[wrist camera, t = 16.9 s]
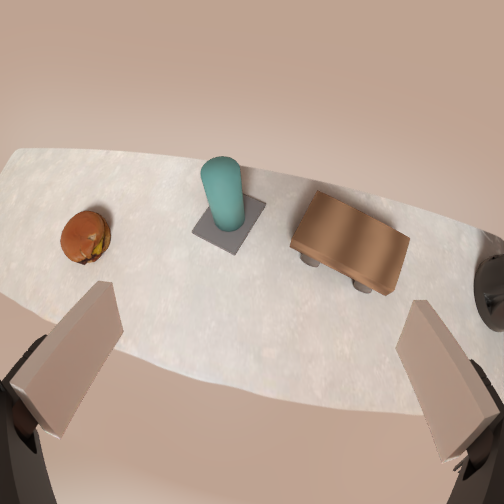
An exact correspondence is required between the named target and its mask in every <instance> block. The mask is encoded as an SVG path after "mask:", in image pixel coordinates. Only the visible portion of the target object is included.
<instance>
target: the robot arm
mask: <svg viewBox="0 0 504 504" xmlns="http://www.w3.org/2000/svg"><path fill="white" fill-rule="evenodd" d="M474 293H475V301H476V305H477V308H478V311H479V314H480V316H481V318H482V320H483V321H484V323H485V324H486V325H487V326H488V327H489V328H490V329H491V330H493V331H496V332H503V331H504V254H502V255H494V256H492V257H490V258H488V259H486V260H485V261H483V262H482V263H481V264H480V266H479V268H478V270H477V272H476V276H475V282H474ZM123 332H124V331H123V327H122V323H121V320H120V315H119V311H118V307H117V303H116V298H115V294H114V289H113V284H112V282H104V281H98V282H97V283H96V284H95V285H94V286H93V287H92V288H91V289H90V290H89V291H88V292H87V293H86V294H85V295H84V296H83V297H82V298H81V299H80V300H79V301H78V302H77V303H76V304H75V306H74V307H73V308H72V309H71V310H70V311H69V312H68V313H67V314H66V315H65V316H64V317H63V319H62V320H61V321H60V322H59V323H58V324H57V325H56V326H55V328H54V329H53V330H52V331H51V332H50V333H49V334H48V335H44V336H42V337H41V338H39V339H37V340H36V341H35V342H34V343H33V344H32V345H31V346H30V348H29V349H28V351H26V352H25V353H24V355H23V357H22V358H20V359H19V361H18V362H17V363H16V364H15V365H14V367H13V368H12V369H11V371H10V372H9V373H8V374H7V375H6V377H5V378H4V379H3V380H2V382H1V380H0V504H57V503H56V499H55V496H54V494H53V490H52V487H51V484H50V480H49V477H48V473H47V470H46V466H45V462H44V458H43V453H42V449H41V444H40V440H39V435H38V432H37V430H36V426H37V425H38V424H39V425H40V426H41V427H42V429H43V430H44V431H45V432H46V433H48V434H50V435H52V436H54V437H56V438H58V439H61V438H62V436H63V434H64V432H65V430H66V428H67V427H68V425H69V423H70V421H71V419H72V417H73V416H74V414H75V412H76V410H77V408H78V407H79V405H80V403H81V401H82V400H83V398H84V396H85V394H86V393H87V391H88V389H89V388H90V386H91V384H92V382H93V381H94V379H95V377H96V376H97V374H98V372H99V371H100V369H101V367H102V366H103V364H104V362H105V361H106V359H107V358H108V356H109V354H110V353H111V351H112V350H113V348H114V346H115V345H116V343H117V342H118V340H119V338H120V337H121V335H122V334H123ZM396 351H397V353H398V355H399V357H400V359H401V361H402V364H403V366H404V368H405V370H406V373H407V375H408V377H409V379H410V382H411V384H412V386H413V389H414V391H415V394H416V396H417V398H418V401H419V403H420V406H421V408H422V411H423V413H424V416H425V418H426V421H427V424H428V426H429V429H430V432H431V434H432V437H433V440H434V443H435V445H436V448H437V451H438V454H439V457H440V460H441V463H444V462H447V461H450V460H453V459H456V458H458V457H459V456H460V455H461V454H462V453H463V452H464V451H465V450H467V452H468V455H467V456H466V457H465V458H464V459H463V460H462V461H461V462H460V463H459V464H458V465H456V466H455V468H454V469H453V471H456V470H457V469H458V468H459V467H460V466H462V467H461V470H460V471H459V472H458V473H459V476H458V478H457V481H456V483H455V486H454V488H453V490H452V493H451V495H450V498H449V500H448V502H447V504H504V404H503V403H502V401H501V399H500V397H499V396H498V394H497V392H496V390H495V389H494V387H493V385H492V386H491V382H490V381H489V379H488V378H487V376H486V374H485V373H484V371H483V369H482V368H481V367H480V366H479V365H478V364H477V363H476V362H475V361H474V360H472V359H471V360H469V359H468V357H467V356H466V354H465V353H464V351H463V350H462V348H461V347H460V345H459V344H458V342H457V341H456V339H455V338H454V337H453V335H452V334H451V332H450V331H449V329H448V328H447V327H446V325H445V324H444V322H443V321H442V320H441V318H440V317H439V316H438V314H437V313H436V312H435V310H434V309H433V308H432V306H431V305H430V304H429V302H428V301H427V300H413V303H412V306H411V309H410V311H409V314H408V317H407V320H406V322H405V325H404V328H403V330H402V333H401V336H400V338H399V341H398V343H397V346H396Z"/></svg>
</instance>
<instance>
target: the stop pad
mask: <svg viewBox="0 0 504 504" xmlns="http://www.w3.org/2000/svg"><path fill="white" fill-rule="evenodd" d="M243 203H244V213H245V221H244V223H243V225H242V226H241V227H240V228H239V229H237V230H235V231H232V232H225V231H222V230H220V229H219V228H217V226H216V225H215V223H214V220H213V216H212V213H211V209H210V206H209V207H208V209H207V210H206V211H205V213H204V214H203V216H202V217H201V219H200V220H199V221H198V223H197V224H196V226H195V227H194V229H193V230H192V233H193V234H195V235H197V236H198V237H200V238H202V239H204V240H206V241H208V242H210V243H212V244H214V245H216V246H218V247H220V248H221V249H223V250H225V251H227V252H229V253H231V254H233V255H236V253H237V251H238V250H239V248H240V246H241V245H242V243H243V242H244V240H245V238H246V237H247V235H248V233H249V232H250V230H251V229H252V227H253V225H254V224H255V222H256V220H257V219H258V217H259V216H260V214H261V212H262V211H263V209H264V208H265V206H266V204H264V203H262V202H260V201H258V200H256V199H254V198H251V197H249V196H247V195H245V194H243Z"/></svg>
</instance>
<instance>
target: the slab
mask: <svg viewBox="0 0 504 504" xmlns="http://www.w3.org/2000/svg"><path fill="white" fill-rule="evenodd" d="M409 241H410V238H409V237H407V236H406V235H404V234H402V233H400V232H398V231H397V230H395V229H393V228H391V227H389V226H387V225H386V224H384V223H382V222H380V221H378V220H376V219H374V218H372V217H371V216H369V215H367V214H365V213H363V212H361V211H359V210H357V209H355V208H353V207H351V206H349V205H347V204H345V203H343V202H341V201H339V200H337V199H335V198H333V197H331V196H329V195H327V194H324V193H322V192H320V191H318V190H317V192H316V194H315V196H314V198H313V200H312V201H311V203H310V205H309V207H308V209H307V211H306V213H305V215H304V217H303V218H302V220H301V222H300V224H299V226H298V228H297V230H296V232H295V233H294V235H293V237H292V240H291V243H290V247H291V248H293V249H295V250H297V251H299V252H301V253H302V255H301V257H300V258H301V260H302V261H303V262H304V263H306V264H307V265H310V266H312V267H318V266H319V264H320V262H321V263H323V264H325V265H326V266H328V267H330V268H332V269H334V270H336V271H338V272H340V273H342V274H344V275H346V276H348V277H350V278H352V279H354V280H355V282H354V284H353V286H354V288H356V289H357V290H359V291H361V292H363V293H371V291H372V289H373V290H375V291H377V292H379V293H381V294H383V295H385V296H386V295H388V294H390V293H391V292H393V291H394V290H395V287H396V284H397V281H398V278H399V275H400V271H401V268H402V265H403V262H404V258H405V255H406V252H407V248H408V245H409Z"/></svg>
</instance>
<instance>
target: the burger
mask: <svg viewBox="0 0 504 504" xmlns="http://www.w3.org/2000/svg"><path fill="white" fill-rule="evenodd" d="M110 238H111V234H110V229H109V227H108V225H107V222H106V221H105V219H104V218H103V217H102V216H101V215H99V214H97V213H95V212H91V211H83V212H80V213H78V214H76V215H75V216H74V217H72V218H71V219H70V220H69V221H68V223H67V224H66V226H65V227H64V229H63V231H62V235H61V240H60V242H61V247H62V250H63V251H64V253H65V255H66V256H67V257H68V258H69V259H70V260H72V261H74V262H77V263H81V264H83V265H85V264H86V263H91V262H95V261H96V260H97V259H98V258H99V257H100V256H101V254H102V253H103V252H104V251H106V249H107V248H108V246H109V244H110Z"/></svg>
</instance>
